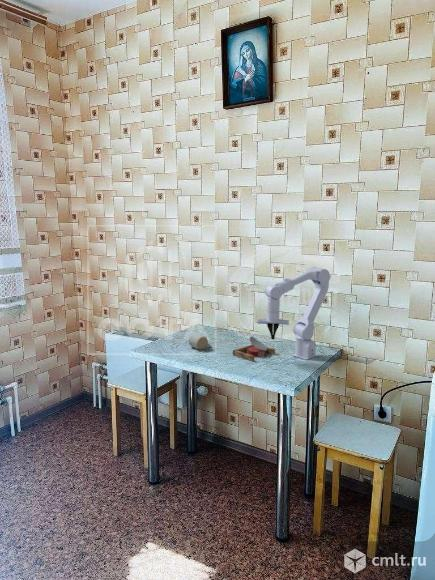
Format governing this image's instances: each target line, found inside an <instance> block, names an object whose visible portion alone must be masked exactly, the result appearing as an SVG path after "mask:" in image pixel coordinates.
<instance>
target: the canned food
mask: <svg viewBox="0 0 435 580" xmlns="http://www.w3.org/2000/svg"><path fill="white" fill-rule="evenodd" d="M249 342H250V343H251V345H253V346H250V347H248V348H247V352H246V354H249V355H252V356H254V358H263V357H264V358H265V357H266V356H267V355H268V353H267V348H266V347H267V346H266V345H265V344H264V343H262V342H261V341H259V340H258V339H256V337H254V336H250V337H249Z"/></svg>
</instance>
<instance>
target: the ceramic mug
mask: <svg viewBox="0 0 435 580" xmlns="http://www.w3.org/2000/svg"><path fill="white" fill-rule="evenodd" d="M188 345H189V346H190V347H192V348H194V349H197V350H201V351H202V350H204V349H206V348H207V347H208V348H209V347H210V346H211V343H210V342H209V341H208V338H207V337H206V336H205V335H204V334H203V335H202V334H201V333H199V332H192V333H191V334H190V335H189V337H188Z"/></svg>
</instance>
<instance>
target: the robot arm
mask: <svg viewBox="0 0 435 580" xmlns="http://www.w3.org/2000/svg"><path fill="white" fill-rule="evenodd" d="M331 277H332V276H331V274H330V271H329V270H328V269H326V268H320V267H316V266H312V267H311V268H308V269H306V270H305V271H304V272H302V273H300V274H298V275H297V276H295V277H293V278H286V277H285V278H283V279H282V280H280V282H275V283H274V284H273V285H272V284H270V285H268V286H267V288H266V289H265V291H264V293H265V296H266V297H267V298H266V299H267V301H266V302H267V303H266V304H267V305H266V306H267V307H266V309H267V310H266V313H267V316H266V318H258V319H257V324H258V325H267V329H268V330H269V333H270V338H271V340H275V338H276V334H277V333H276V332H277V330H278V329H279V327H280V325H286V326H289V325H290V323H289V322H290V320H289V319H281V318H280V309H281V308H280V305H281V304H280V300H281V299H280V298H281V297H282V296H283V295H285V294H286V293H288V292H290V291H292V290H294V289H295V286H296V285H299V284H301V283H304V282H306V281H308V280H310V281H312V283H313V284H314V286H315V289H314V292H313V295H312V296H311V298H310V301H309V302H308V305H307V308H306V309H305V312H304V313H303V316H302V317H301V318H299V319H298V320H297V322H296V323H295V324H294V325H293V328H292V331H293V334H294V337H295V339H294V340H295V344H294V345H295V347H294V349H295V350H294V352H295V353H292V354H291V356H293V357H295V358H296V357H297V358H299V359H303V360H306V361H307V360H310V359H312V358H315V357H317V354H316V350H317V349H316V348H317V347H316V346H317V344H316V342H315V340H313V339H312V338H313V337H314V333H315V332H314V331H315V328H316V326H315V322H314V321H315V319H316V317H317V315H318V314H319V311H320V308H321V306H322V304H323V302H324V300H325V298H326V295H327V293H328V290H329V287H330V286H329V285H330V280H331Z"/></svg>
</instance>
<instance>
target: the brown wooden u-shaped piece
mask: <svg viewBox="0 0 435 580" xmlns="http://www.w3.org/2000/svg"><path fill="white" fill-rule="evenodd" d="M250 346H253V345H252V344H250V345H246V346H243V347H240V348H236V349H233V350H232V356H234V357H236V358H237V357H238V358H241V359H244V360H247V361H248V362H255V357H254V356H252V355H249V354H247V348H248V347H250ZM266 348H267V354H269V355H275V354H276V349H275V348H272V347H269V346H266Z"/></svg>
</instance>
